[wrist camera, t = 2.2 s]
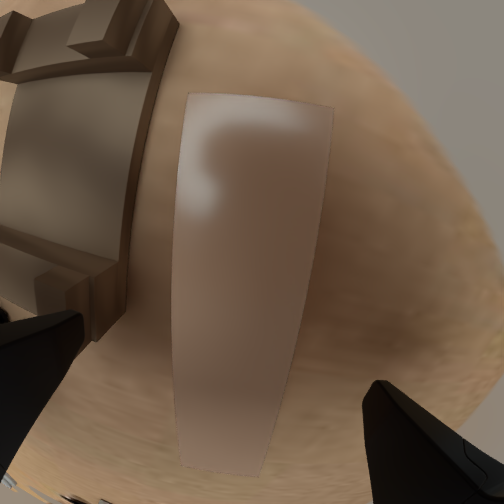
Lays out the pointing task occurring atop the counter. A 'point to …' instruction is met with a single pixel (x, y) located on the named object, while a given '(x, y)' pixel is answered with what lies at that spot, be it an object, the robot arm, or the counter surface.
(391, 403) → the robot arm
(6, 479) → the lid
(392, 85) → the counter surface
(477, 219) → the counter surface
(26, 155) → the bracket
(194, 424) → the clay bar
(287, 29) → the counter surface
